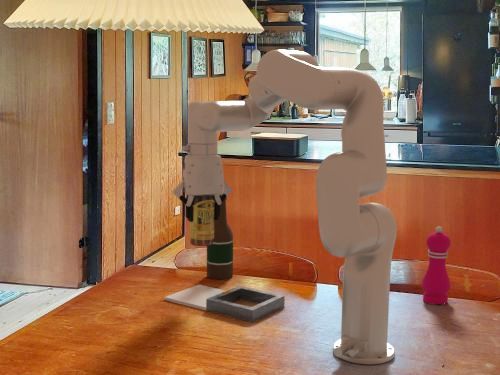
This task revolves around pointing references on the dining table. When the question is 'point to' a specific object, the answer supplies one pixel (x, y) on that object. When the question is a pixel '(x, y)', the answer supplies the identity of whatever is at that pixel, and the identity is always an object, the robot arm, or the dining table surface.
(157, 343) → the dining table surface
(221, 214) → the beer bottle
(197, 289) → the plate
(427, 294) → the pepper mill
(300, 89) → the robot arm
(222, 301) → the collar
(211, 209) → the sauce bottle
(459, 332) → the dining table surface
